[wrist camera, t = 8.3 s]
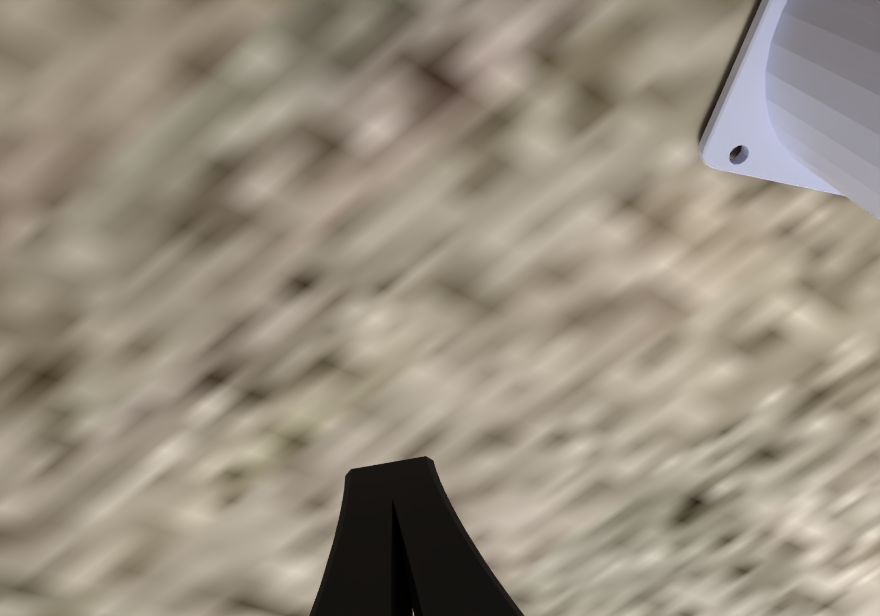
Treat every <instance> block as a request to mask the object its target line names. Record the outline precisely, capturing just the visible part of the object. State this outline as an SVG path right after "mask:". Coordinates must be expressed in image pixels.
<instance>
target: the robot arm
mask: <svg viewBox="0 0 880 616" xmlns="http://www.w3.org/2000/svg"><path fill="white" fill-rule="evenodd" d="M739 145H742V148H741V152H740V153H739V154H738V156H736V157H734V158H733V159H729V156H730V152H731V151H732V150H733V148H735V147H737V146H739ZM698 154H699V157H700V159H701V160H702V161H703V162H704V163H705V164H706V165H707V166H709V167H711V168H713V169H718V170H723V171H727V172H732V173H737V174H742V175H747V176H751V177H756V178H761V179H766V180H771V181H775V182H780V183H785V184H790V185H795V186H799V187H804V188H809V189H814V190H819V191H823V192H828V193H833V194H838V195H843V196H846V197H847V198H849V199H850V200H852V201H853V202H854V203H856V204H857V205H859V206H860V207H861V208H863V209H864V210H866V211H867V212H868V213H870V214H871V215H873V216H874V217H875V218H877V219H878V220H880V0H762V1H761V3H760V6H759V8H758V10H757V13H756V15H755V17H754V19H753V22H752V24H751V26H750V29H749V31H748V33H747V35H746V38H745V40H744V42H743V45H742V47H741V49H740V52H739V54H738V56H737V58H736V61H735V63H734V65H733V68H732V70H731V72H730V74H729V77H728V79H727V81H726V84H725V86H724V88H723V90H722V93H721V95H720V97H719V100H718V102H717V104H716V106H715V109H714V111H713V113H712V116H711V118H710V120H709V122H708V125H707V127H706V129H705V132H704V134H703V136H702V138H701V141H700V143H699V147H698ZM412 608H413V609H412ZM413 612H414V616H524V615H523V613H522V612H521V611H520V609H519V608H518V607H517V605H516V604H515V603H514V601H513V600H512V599H511V597H510V596H509V595H508V593H507V592H506V591H505V589H504V588H503V586H502V585H501V584H500V582H499V581H498V579H497V578H496V577H495V575H494V574H493V572H492V571H491V569H490V568H489V566H488V565H487V563H486V562H485V560H484V559H483V557H482V556H481V554H480V553H479V551H478V549H477V548H476V546H475V545H474V543H473V541H472V540H471V538H470V537H469V535H468V533H467V532H466V530H465V528H464V527H463V525H462V523H461V521H460V520H459V518H458V516H457V514H456V512H455V510H454V508H453V507H452V505H451V503H450V501H449V499H448V497H447V495H446V493H445V491H444V488H443V486H442V484H441V482H440V479H439V476H438V474H437V471H436V468H435V465H434V461H433V460H431V459H430V458H428V457H426V456H424V457H419V458H413V459H407V460H401V461H396V462H390V463H384V464H378V465H373V466H367V467H361V468H355V469H351V470H350V471H349V472H348V473H347V474H346V476H345V487H344V494H343V500H342V506H341V511H340V516H339V521H338V525H337V529H336V533H335V537H334V541H333V545H332V548H331V551H330V555H329V558H328V561H327V565H326V568H325V572H324V575H323V578H322V582H321V585H320V588H319V591H318V593H317V596H316V599H315V602H314V604H313V607H312V610H311V613H310V615H309V616H413Z"/></svg>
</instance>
